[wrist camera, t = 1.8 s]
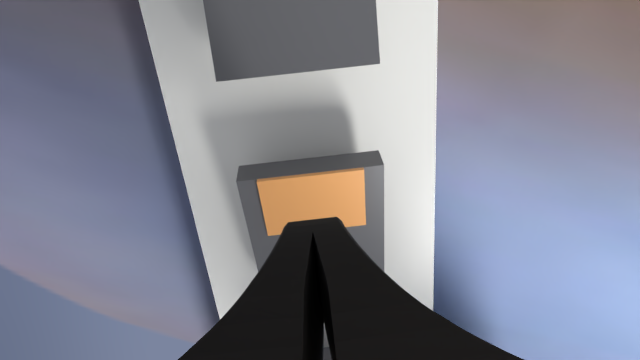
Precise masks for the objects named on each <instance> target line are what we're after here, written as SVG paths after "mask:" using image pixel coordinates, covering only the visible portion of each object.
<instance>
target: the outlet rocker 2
mask: <svg viewBox="0 0 640 360" xmlns="http://www.w3.org/2000/svg"><path fill="white" fill-rule="evenodd" d="M236 183H237V187H238V191H239V196H240V200H241V204H242V208H243V212H244V216H245V220H246V224H247V228H248V232H249V236H250V240H251V245H252V249H253V253H254V257H255V261H256V265H257V269H258V272H259V270H260V269H261V267H262V265H263V264H264V262H265V261H266V259H267V257H268V256H269V254H270V253H271V251H272V249H273V248H274V246H275V244H276V242H277V240H278V238H279V237H280V235H281V233H282V230H283V228H284V226H285V225H286V224H287V223H288V222H294V221H303V220H312V219H321V218H329V217H338V218H339V219H340V220H342V222H343V224H344V226H345V227H346V229H347V230H348V232H349V233H350V234H351V236H352V237H353V238H354V239H355V241H356V242H357V243H358V244H359V246H360V247H361V248H362V249H363V250H364V251H365V252H366V253H367V255H368V256H369V257H370V258H371V259H372V260H373V261H374V262H375V263H376V264H377V265H378V266H379V267H380V268H381V269H382V270H383V271H384V163H383V161H382V158H381V155H380V153H379V150H376V151H367V152H358V153H349V154H340V155H331V156H322V157H313V158H304V159H295V160H287V161H278V162H269V163H260V164H251V165H242V166H239V168H238V174H237V179H236Z"/></svg>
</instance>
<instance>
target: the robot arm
mask: <svg viewBox="0 0 640 360" xmlns="http://www.w3.org/2000/svg"><path fill="white" fill-rule="evenodd" d="M324 325H325V330H326V335H327V340H328V345H329V350H330V355H331V359H332V360H524V359H521V358H519V357H517V356H514V355H512V354H510V353H508V352H506V351H504V350H502V349H500V348H498V347H496V346H494V345H492V344H490V343H488V342H486V341H484V340H482V339H480V338H478V337H476V336H474V335H472V334H471V333H469V332H467V331H465V330H463V329H462V328H460V327H458V326H457V325H455V324H453V323H452V322H450V321H448V320H447V319H445V318H444V317H442V316H440V315H439V314H437V313H435V312H434V311H432V310H431V309H429V308H428V307H426V306H425V305H424V304H422V303H421V302H419V301H418V300H417V299H416V298H414V297H413V296H412V295H410V294H409V293H408V292H407V291H405V290H404V289H403V288H402V287H401V286H399V285H398V284H397V283H396V282H395V281H394V280H392V279H391V278H390V277H389V276H388V275H387V274H386V273H385V272H384V271H383V270H382V269H381V268H380V267H379V266H378V265H377V264H376V263H375V262H374V261H373V260H372V259H371V258H370V257H369V256H368V255H367V253H366V252H365V251H364V250H363V249H362V248H361V247H360V246H359V244H358V243H357V242H356V241H355V239H354V238H353V237H352V236H351V234H350V233H349V232H348V230H347V229H346V227H345V226H344V224H343V222H342V220H340V219H339V218H338V217H329V218H321V219H312V220H303V221H294V222H288V223H287V224H286V225H285V226H284V228H283V230H282V233H281V235H280V237H279V238H278V240H277V242H276V244H275V246H274V248H273V249H272V251H271V253H270V254H269V256H268V257H267V259H266V261H265V262H264V264H263V265H262V267H261V269H260V270H259V272H258V273H257V274H256V276H255V277H254V279H253V280H252V281H251V283H250V284H249V285H248V287H247V288H246V289H245V291H244V292H243V293H242V295H241V296H240V297H239V299H238V300H237V301H236V302H235V303H234V305H233V306H232V307H231V308H230V309H229V310H228V312H227V313H226V314H225V315H224V316H223V317H222V318H221V319H220V320H219V321H218V323H217V324H216V325H215V326H214V327H213V328H212V329H211V330H210V331H209V332H208V333H206V334H205V335H204V336H203V337H202V338H201V339H200V340H199V341H198V342H197V343H196V344H195V345H193V346H192V347H191V348H190V349H189V350H188V351H187V352H186V353H185V354H184V355H183V356H182V357H180V358H179V359H178V360H323V353H324Z"/></svg>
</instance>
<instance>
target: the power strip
mask: <svg viewBox="0 0 640 360" xmlns="http://www.w3.org/2000/svg"><path fill="white" fill-rule="evenodd" d="M139 4H140V8H141V12H142V16H143V20H144V24H145V28H146V32H147V36H148V40H149V43H150V47H151V51H152V55H153V59H154V63H155V67H156V71H157V75H158V79H159V83H160V87H161V91H162V94H163V98H164V102H165V106H166V110H167V114H168V118H169V122H170V126H171V130H172V134H173V138H174V142H175V145H176V149H177V153H178V157H179V161H180V165H181V169H182V173H183V177H184V181H185V185H186V189H187V192H188V196H189V200H190V204H191V208H192V212H193V216H194V220H195V224H196V228H197V232H198V236H199V240H200V243H201V247H202V251H203V255H204V259H205V263H206V267H207V271H208V275H209V279H210V283H211V287H212V290H213V294H214V298H215V302H216V306H217V310H218V314H219V318H220V319H221V318H222V317H223V316H224V315H225V314H226V313H227V312H228V310H229V309H230V308H231V307H232V306H233V305H234V303H235V302H236V301H237V300H238V299H239V297H240V296H241V295H242V293H243V292H244V291H245V289H246V288H247V287H248V285H249V284H250V283H251V281H252V280H253V279H254V277H255V276H256V274H257V273H258V269H257V265H256V261H255V257H254V253H253V249H252V245H251V240H250V236H249V232H248V228H247V224H246V220H245V216H244V212H243V208H242V204H241V200H240V196H239V191H238V187H237V183H236V179H237V174H238V168H239V166H242V165H251V164H260V163H269V162H278V161H287V160H295V159H304V158H313V157H322V156H331V155H340V154H349V153H358V152H367V151H376V150H379V153H380V155H381V158H382V161H383V163H384V272H385V273H386V274H387V275H388V276H389V277H390V278H391V279H392V280H394V281H395V282H396V283H397V284H398V285H399V286H401V287H402V288H403V289H404V290H405V291H407V292H408V293H409V294H410V295H412V296H413V297H414V298H416V299H417V300H418V301H419V302H421V303H422V304H424V305H425V306H426V307H428V308H429V309H431V310H432V311H433V287H434V222H435V158H436V94H437V29H438V0H376V10H377V25H378V39H379V54H380V64H375V65H366V66H357V67H348V68H339V69H330V70H321V71H312V72H303V73H294V74H285V75H276V76H267V77H258V78H248V79H239V80H230V81H220V82H216V78H215V72H214V65H213V59H212V53H211V47H210V41H209V35H208V29H207V23H206V16H205V10H204V4H203V0H139ZM324 347H329V345H328V340H327V335H326V330H325V325H324Z"/></svg>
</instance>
